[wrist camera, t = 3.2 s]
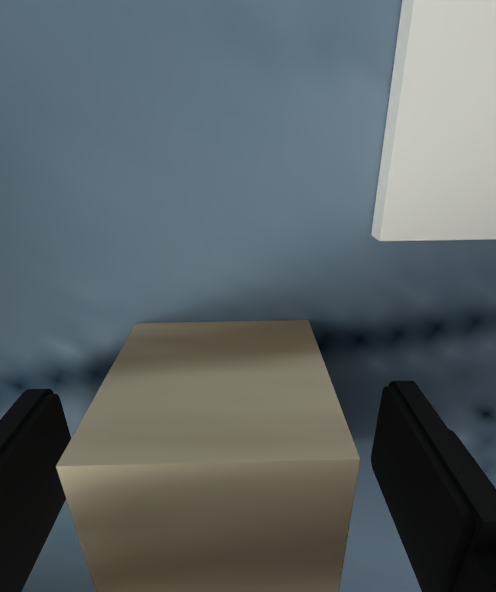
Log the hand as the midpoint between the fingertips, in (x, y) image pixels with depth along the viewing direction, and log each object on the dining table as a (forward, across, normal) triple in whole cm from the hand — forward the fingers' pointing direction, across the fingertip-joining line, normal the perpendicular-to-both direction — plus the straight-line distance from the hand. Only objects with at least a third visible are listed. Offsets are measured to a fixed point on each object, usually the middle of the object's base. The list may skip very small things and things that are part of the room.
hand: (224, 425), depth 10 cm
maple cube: (+2, 0, 0) cm, 2 cm away
